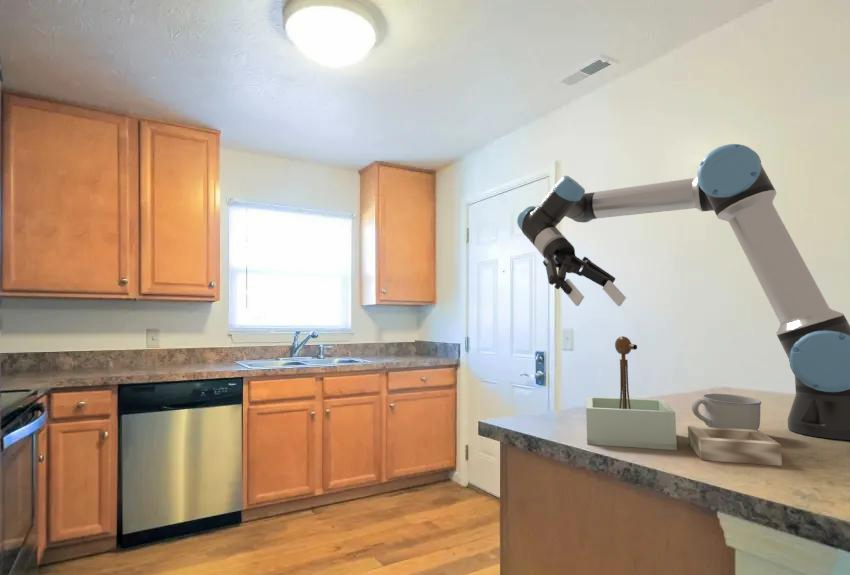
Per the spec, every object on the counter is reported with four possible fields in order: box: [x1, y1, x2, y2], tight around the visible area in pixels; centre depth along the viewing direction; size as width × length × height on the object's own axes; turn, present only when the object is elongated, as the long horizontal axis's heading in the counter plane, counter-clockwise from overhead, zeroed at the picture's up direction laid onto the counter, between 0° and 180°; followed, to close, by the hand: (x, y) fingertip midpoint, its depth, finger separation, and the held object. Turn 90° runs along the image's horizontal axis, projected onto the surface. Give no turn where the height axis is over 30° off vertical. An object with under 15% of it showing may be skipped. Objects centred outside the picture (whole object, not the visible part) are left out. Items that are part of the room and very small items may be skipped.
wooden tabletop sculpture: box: [614, 336, 638, 409], centre depth 105 cm, size 6×5×20 cm
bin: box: [585, 396, 678, 451], centre depth 104 cm, size 16×16×7 cm
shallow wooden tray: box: [687, 425, 783, 467], centre depth 91 cm, size 12×12×4 cm
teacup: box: [691, 393, 762, 430], centre depth 108 cm, size 14×11×8 cm
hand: (601, 301), depth 118 cm, fingers open, 13 cm apart
